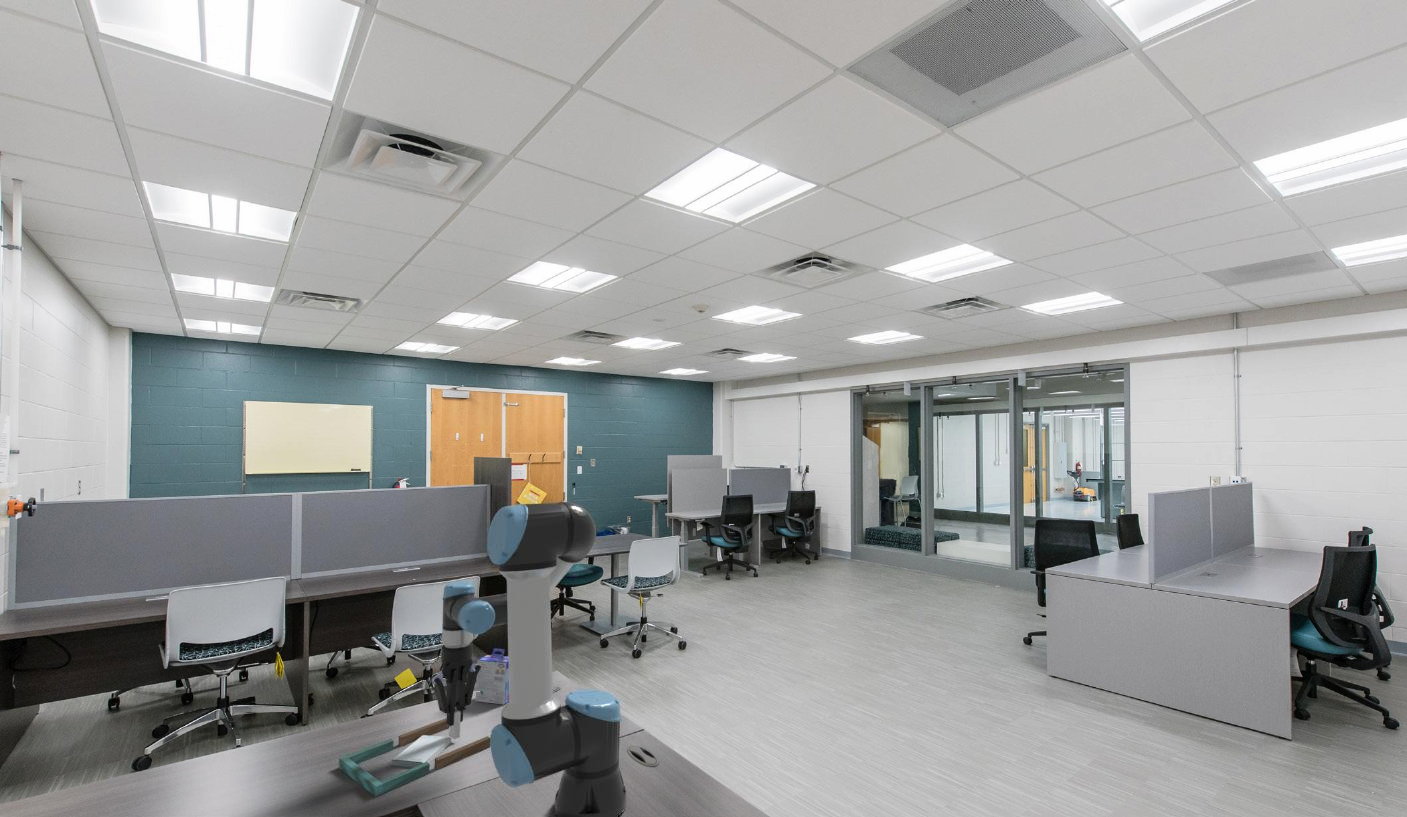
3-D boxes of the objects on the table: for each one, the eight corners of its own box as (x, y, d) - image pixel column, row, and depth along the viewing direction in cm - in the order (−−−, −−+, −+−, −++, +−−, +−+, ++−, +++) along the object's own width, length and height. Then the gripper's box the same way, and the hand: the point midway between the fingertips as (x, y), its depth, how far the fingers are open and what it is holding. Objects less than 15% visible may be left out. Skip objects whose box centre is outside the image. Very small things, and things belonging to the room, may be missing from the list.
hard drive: (423, 762, 144) (451, 736, 156) (391, 759, 145) (421, 734, 157) (423, 769, 144) (451, 743, 156) (391, 766, 145) (421, 740, 157)
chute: (490, 746, 154) (490, 737, 154) (375, 797, 132) (376, 786, 132) (450, 724, 166) (450, 716, 166) (338, 767, 144) (339, 758, 144)
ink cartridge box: (514, 697, 184) (516, 648, 184) (505, 705, 178) (507, 655, 179) (485, 694, 186) (486, 646, 186) (474, 702, 180) (476, 652, 181)
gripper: (472, 634, 165) (469, 723, 164) (425, 646, 155) (422, 741, 154) (488, 640, 161) (485, 731, 160) (441, 653, 150) (437, 751, 149)
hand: (454, 736), depth 157 cm, fingers closed
